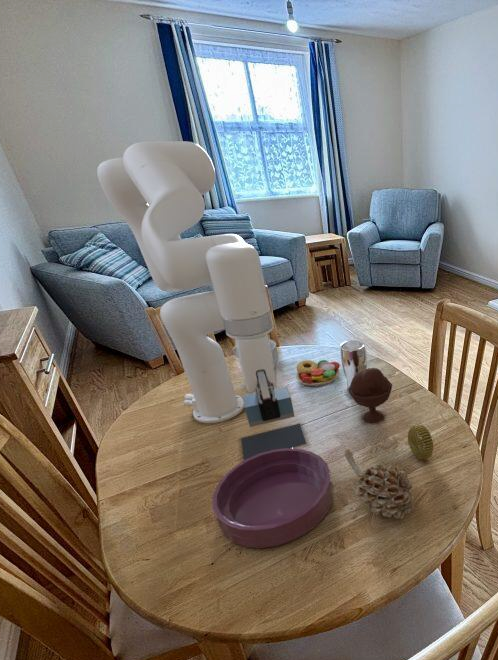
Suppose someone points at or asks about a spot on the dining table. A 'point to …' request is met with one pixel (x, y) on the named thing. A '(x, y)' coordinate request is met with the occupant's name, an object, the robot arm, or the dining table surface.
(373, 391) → the ice cream bowl
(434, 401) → the dining table surface
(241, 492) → the serving bowl
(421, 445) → the sculpture
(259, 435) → the rubber mat
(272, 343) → the teacup
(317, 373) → the toy food set
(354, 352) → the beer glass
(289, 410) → the block
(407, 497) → the pine cone
